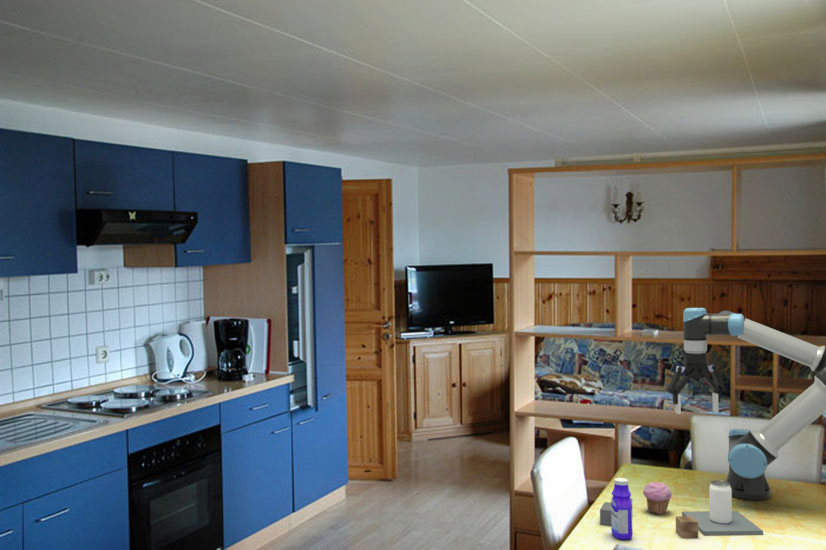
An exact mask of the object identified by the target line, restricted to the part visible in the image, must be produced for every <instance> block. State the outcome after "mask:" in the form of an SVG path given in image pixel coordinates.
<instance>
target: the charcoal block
mask: <svg viewBox="0 0 826 550" xmlns="http://www.w3.org/2000/svg"><path fill="white" fill-rule="evenodd" d="M599 525H600V526H606V525H607V527H611V502H607V501H604V503H603V504H602V505H601V507H600V509H599Z"/></svg>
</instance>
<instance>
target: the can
mask: <svg viewBox="0 0 826 550" xmlns="http://www.w3.org/2000/svg"><path fill="white" fill-rule="evenodd" d="M725 481H726V480H711V481H710V484H709V511H710V519H711V521H713V522H715V523H719V524H729V523H731V521H732V511H733V504H732V503H733V502H732V501H733V500H732V499H733V497H732V490H731V487H730V483H728V482H725Z"/></svg>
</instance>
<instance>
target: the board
mask: <svg viewBox="0 0 826 550" xmlns="http://www.w3.org/2000/svg"><path fill="white" fill-rule="evenodd" d="M681 516H692V517H693V518H694V519H696V520H697V521H698V532H699V533H701V534H702V535H703V536H761V535H764V530H763V529H761V528H760V527H759V526H757V525H756V524H755V523H754V522H753V521H751V520H749V518H747V517H746V516H744V515H743V514H742V513H740V512H739V511H737V510H732V521H731V523H729V524H719V523H715V522H713V521H711V519H710V510H703V511H702V510H700V511H698V510H697V511H693V510H692V511H691V510H690V511H687V510H686V511H684V510H683V511H681Z"/></svg>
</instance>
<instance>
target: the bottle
mask: <svg viewBox="0 0 826 550" xmlns="http://www.w3.org/2000/svg"><path fill="white" fill-rule="evenodd" d="M613 482H614V486H613V489H612V491H611V494H612V495H611V496H612V497H611V501H610V503H611V526H610V527H611V534H612V535H613V536H614V537H615V538H617V539H619V540H630V539H631V538H632V537H633V534H634V533H633V501H632V502H631V499H630V496H632V493H631V491H630V490H629V480H628V479H627V478H624V477H617V478H614V481H613Z"/></svg>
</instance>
